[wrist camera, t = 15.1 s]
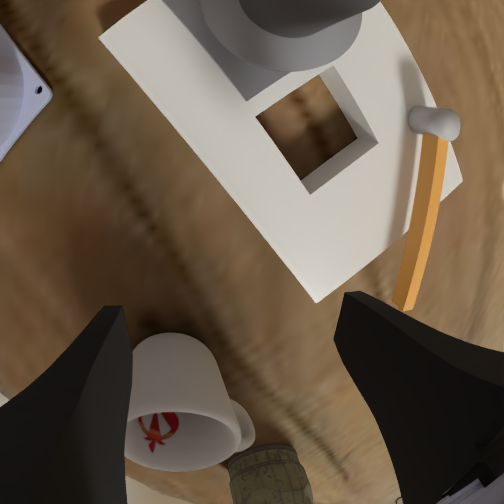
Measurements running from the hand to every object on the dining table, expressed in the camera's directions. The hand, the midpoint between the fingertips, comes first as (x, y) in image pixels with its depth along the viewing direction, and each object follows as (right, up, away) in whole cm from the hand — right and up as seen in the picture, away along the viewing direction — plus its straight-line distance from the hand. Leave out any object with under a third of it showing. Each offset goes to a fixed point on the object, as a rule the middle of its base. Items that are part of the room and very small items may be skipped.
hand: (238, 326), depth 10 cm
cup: (-5, -6, +14) cm, 16 cm away
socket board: (+4, +11, +7) cm, 14 cm away
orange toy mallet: (+10, +5, +9) cm, 15 cm away
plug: (+1, +14, +2) cm, 14 cm away
